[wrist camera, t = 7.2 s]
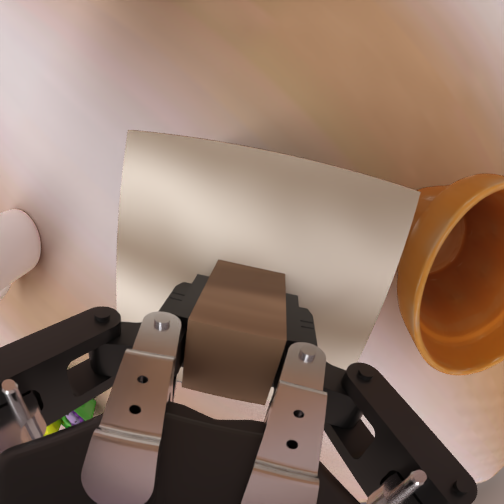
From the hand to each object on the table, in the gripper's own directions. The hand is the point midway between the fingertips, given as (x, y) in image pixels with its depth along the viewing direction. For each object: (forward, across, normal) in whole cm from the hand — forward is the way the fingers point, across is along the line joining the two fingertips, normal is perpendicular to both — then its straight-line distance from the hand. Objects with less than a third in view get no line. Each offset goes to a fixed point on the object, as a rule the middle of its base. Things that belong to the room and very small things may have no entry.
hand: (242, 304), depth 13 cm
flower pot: (+16, -16, -3) cm, 23 cm away
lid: (+2, 0, 0) cm, 2 cm away
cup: (+16, +30, +10) cm, 35 cm away
